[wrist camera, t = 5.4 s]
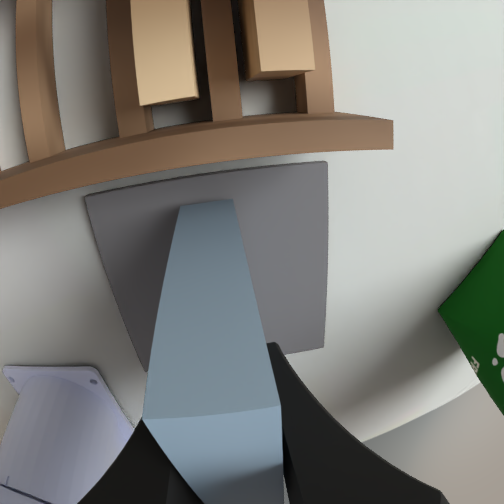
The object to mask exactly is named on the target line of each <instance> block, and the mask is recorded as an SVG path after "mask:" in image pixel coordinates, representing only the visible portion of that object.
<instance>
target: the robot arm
mask: <svg viewBox="0 0 504 504" xmlns="http://www.w3.org/2000/svg"><path fill="white" fill-rule="evenodd" d="M266 345H267V349H268V353H269V357H270V362H271V366H272V370H273V374H274V379H275V383H276V387H277V391H278V395H279V400H280V404H281V421H282V450H283V475H284V478H285V483H286V488H287V493H288V498H289V502H290V504H449V502H448V501H447V499H446V498H445V496H444V495H443V494H442V492H441V491H440V490H438V489H436V488H434V487H431V486H429V485H427V484H425V483H423V482H421V481H419V480H417V479H416V478H413V477H412V476H410V475H408V474H406V473H405V472H403V471H401V470H400V469H398V468H396V467H395V466H393V465H392V464H390V463H389V462H387V461H386V460H384V459H383V458H382V457H380V456H379V455H377V454H376V453H374V452H373V451H372V450H370V449H369V448H368V447H366V446H365V445H363V444H362V443H361V442H360V441H359V440H358V439H356V438H355V437H354V436H353V435H352V434H351V433H349V432H348V431H347V430H346V429H345V428H344V427H343V426H342V425H341V424H340V423H339V422H337V421H336V420H335V419H334V418H333V417H332V416H331V415H330V413H329V412H328V411H327V410H326V409H325V408H324V407H323V406H322V405H321V404H320V403H319V402H318V400H317V399H316V398H315V397H314V396H313V395H312V393H311V392H310V391H309V390H308V388H307V387H306V386H305V385H304V383H303V382H302V381H301V379H300V378H299V377H298V375H297V374H296V373H295V371H294V370H293V368H292V367H291V365H290V364H289V362H288V361H287V359H286V357H285V356H284V354H283V352H282V350H281V348H280V346H279V344H277V343H276V342H271V343H266ZM3 373H4V375H5V376H6V378H7V379H8V381H9V382H10V383H11V385H12V386H13V387H14V389H15V390H16V391H17V393H18V394H19V398H18V400H17V402H16V405H15V407H14V410H13V412H12V415H11V417H10V420H9V422H8V425H7V428H6V430H5V433H4V436H3V439H2V442H1V444H0V504H204V503H203V502H202V500H201V499H200V498H199V497H198V496H197V494H196V493H195V492H194V491H193V490H192V488H191V487H190V486H189V485H188V483H187V482H186V481H185V479H184V478H183V477H182V476H181V474H180V473H179V472H178V470H177V469H176V468H175V466H174V465H173V464H172V462H171V461H170V460H169V458H168V457H167V455H166V454H165V453H164V451H163V450H162V448H161V447H160V446H159V444H158V443H157V441H156V440H155V438H154V437H153V435H152V434H151V432H150V431H149V429H148V428H147V426H146V425H145V423H144V422H143V420H142V418H141V419H140V421H139V423H138V425H137V426H136V428H135V429H134V428H133V427H132V425H131V424H130V422H129V421H128V419H127V418H126V416H125V415H124V413H123V411H122V410H121V408H120V407H119V405H118V404H117V402H116V400H115V399H114V397H113V395H112V394H111V392H110V390H109V389H108V387H107V385H106V384H105V382H104V380H103V379H102V377H101V375H100V373H99V372H98V370H97V369H95V368H94V367H90V366H84V367H32V366H4V368H3Z"/></svg>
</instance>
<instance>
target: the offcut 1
mask: <svg viewBox="0 0 504 504" xmlns="http://www.w3.org/2000/svg"><path fill="white" fill-rule="evenodd" d="M130 2H131V19H132V34H133V46H134V57H135V67H136V77H137V85H138V94H139V102H140V106H148V105H165V104H171V103H176V102H183V101H189V100H196V99H200V95H199V86H198V77H197V67H196V58H195V48H194V38H193V27H192V16H191V5H190V0H130Z"/></svg>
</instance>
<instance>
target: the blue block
mask: <svg viewBox="0 0 504 504" xmlns="http://www.w3.org/2000/svg"><path fill="white" fill-rule="evenodd" d="M142 420H143V422H144V423H145V425H146V426H147V428H148V429H149V431H150V432H151V434H152V435H153V437H154V438H155V440H156V441H157V443H158V444H159V446H160V447H161V448H162V450H163V451H164V453H165V454H166V455H167V457H168V458H169V460H170V461H171V462H172V464H173V465H174V466H175V468H176V469H177V470H178V472H179V473H180V474H181V476H182V477H183V478H184V479H185V481H186V482H187V483H188V485H189V486H190V487H191V488H192V490H193V491H194V492H195V493H196V494H197V496H198V497H199V498H200V499H201V500H202V502H203V503H204V504H284V486H283V450H282V421H281V404H280V400H279V395H278V391H277V387H276V383H275V379H274V374H273V370H272V366H271V362H270V357H269V353H268V349H267V345H266V340H265V336H264V332H263V328H262V323H261V319H260V315H259V311H258V306H257V302H256V298H255V293H254V289H253V285H252V280H251V276H250V272H249V267H248V263H247V259H246V254H245V250H244V246H243V241H242V237H241V233H240V228H239V224H238V220H237V215H236V211H235V206H234V202H233V199H227V200H219V201H212V202H205V203H198V204H191V205H184V206H180V210H179V214H178V218H177V222H176V226H175V231H174V235H173V240H172V244H171V248H170V253H169V258H168V262H167V267H166V272H165V277H164V282H163V287H162V292H161V297H160V303H159V308H158V313H157V319H156V325H155V331H154V337H153V343H152V349H151V355H150V362H149V369H148V376H147V383H146V391H145V398H144V407H143V415H142Z"/></svg>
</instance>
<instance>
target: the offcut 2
mask: <svg viewBox="0 0 504 504" xmlns="http://www.w3.org/2000/svg"><path fill="white" fill-rule="evenodd" d="M237 2H238V11H239V21H240V30H241V40H242V50H243V60H244V70H245V80H246V81H256V80H272V79H286V78H289V77H292V76H295V75H299V74H302V73H306V72H309V71H313V70H315V62H314V52H313V42H312V33H311V24H310V16H309V8H308V0H237Z"/></svg>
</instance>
